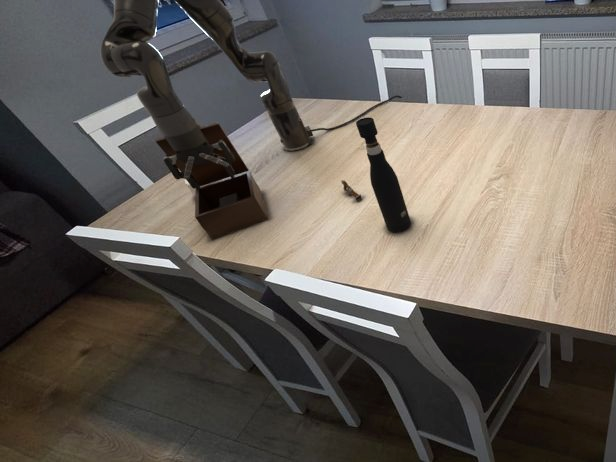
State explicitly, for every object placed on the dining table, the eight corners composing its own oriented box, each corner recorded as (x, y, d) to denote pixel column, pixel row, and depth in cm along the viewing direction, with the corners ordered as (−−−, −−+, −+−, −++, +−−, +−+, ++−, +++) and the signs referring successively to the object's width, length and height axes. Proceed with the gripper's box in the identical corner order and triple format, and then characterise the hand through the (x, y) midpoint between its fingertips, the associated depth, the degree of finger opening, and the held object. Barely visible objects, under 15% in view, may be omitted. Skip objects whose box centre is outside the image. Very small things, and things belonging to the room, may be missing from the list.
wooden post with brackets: (345, 186, 123) (344, 177, 119) (362, 203, 121) (361, 194, 117) (340, 189, 122) (338, 180, 118) (357, 206, 120) (356, 197, 116)
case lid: (218, 123, 107) (215, 112, 109) (155, 141, 102) (153, 129, 104) (249, 170, 121) (245, 159, 123) (194, 188, 116) (192, 176, 118)
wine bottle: (388, 219, 110) (352, 116, 90) (411, 216, 110) (381, 113, 90) (385, 234, 105) (347, 129, 85) (410, 231, 105) (376, 125, 85)
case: (268, 219, 115) (254, 197, 110) (211, 239, 110) (194, 217, 105) (262, 192, 126) (249, 171, 121) (210, 210, 121) (195, 188, 116)
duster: (244, 205, 120) (236, 192, 117) (246, 220, 114) (238, 206, 111) (227, 211, 118) (219, 198, 115) (229, 226, 112) (220, 213, 109)
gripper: (144, 143, 93) (186, 198, 104) (211, 124, 98) (245, 179, 109) (147, 131, 98) (187, 185, 109) (210, 114, 103) (242, 167, 114)
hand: (216, 182), depth 109 cm, fingers open, 8 cm apart
